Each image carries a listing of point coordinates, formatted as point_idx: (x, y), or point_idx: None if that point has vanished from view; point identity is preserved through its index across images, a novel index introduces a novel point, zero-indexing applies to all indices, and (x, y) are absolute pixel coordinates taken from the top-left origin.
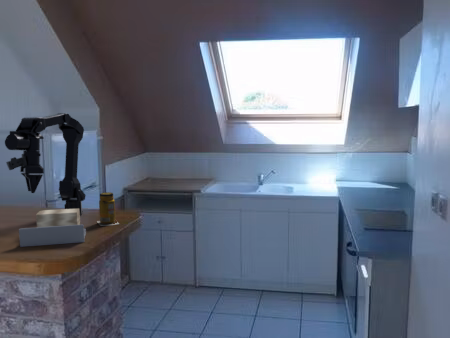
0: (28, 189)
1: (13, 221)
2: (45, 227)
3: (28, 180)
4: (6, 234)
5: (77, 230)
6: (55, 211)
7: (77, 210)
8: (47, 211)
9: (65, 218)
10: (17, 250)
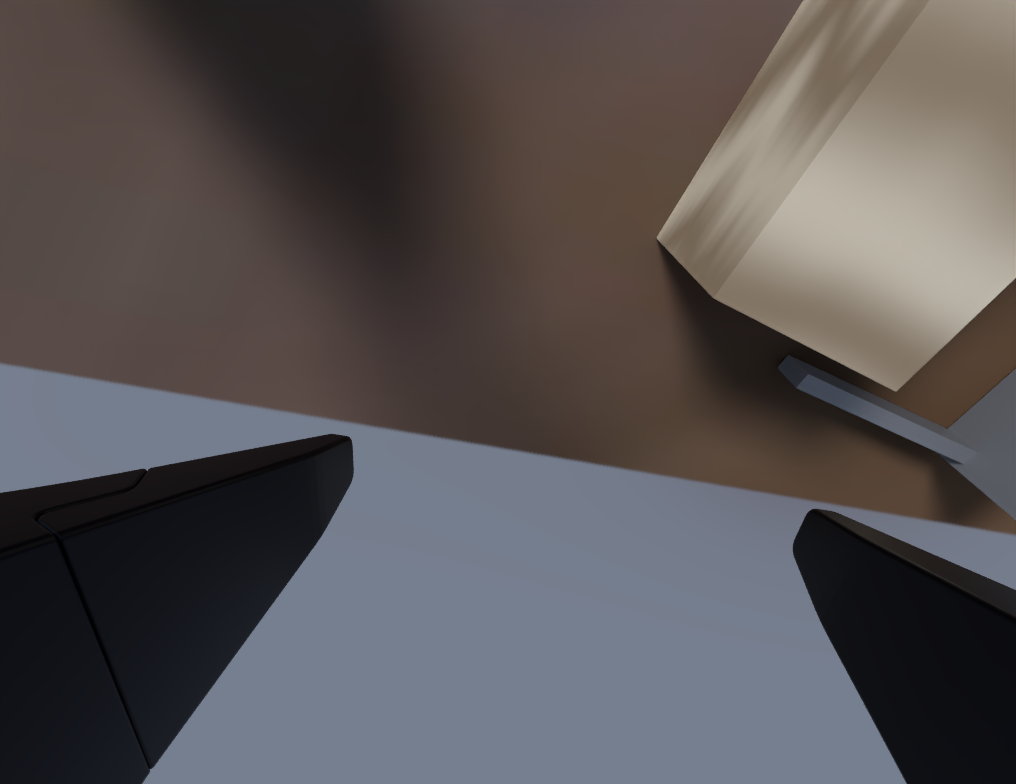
0: (340, 496)
1: (187, 342)
2: None
3: (200, 654)
4: (565, 449)
5: None
6: (974, 145)
7: None
8: (858, 241)
9: None
10: None
